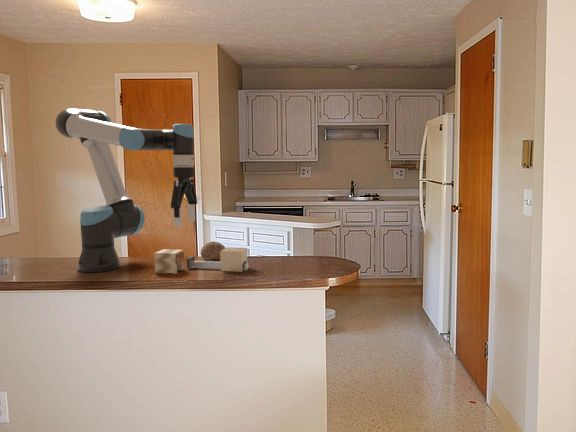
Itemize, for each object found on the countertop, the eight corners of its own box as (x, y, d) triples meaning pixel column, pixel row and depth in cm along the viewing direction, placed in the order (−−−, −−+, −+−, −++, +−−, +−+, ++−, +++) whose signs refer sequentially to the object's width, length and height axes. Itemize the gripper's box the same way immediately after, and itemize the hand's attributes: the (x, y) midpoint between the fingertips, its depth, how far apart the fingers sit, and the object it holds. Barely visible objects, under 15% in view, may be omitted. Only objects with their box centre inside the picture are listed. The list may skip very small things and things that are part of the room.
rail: (185, 269, 195) (185, 249, 194) (193, 265, 202) (192, 246, 201) (244, 271, 190) (244, 251, 189) (250, 267, 197) (249, 248, 196)
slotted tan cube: (155, 273, 190) (154, 252, 189) (164, 268, 197) (163, 249, 196) (177, 273, 188) (176, 253, 187) (185, 269, 195) (184, 249, 194)
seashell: (216, 261, 205) (206, 239, 207) (203, 270, 210) (193, 248, 212) (234, 256, 214) (224, 235, 216) (221, 265, 219) (211, 244, 221)
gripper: (180, 167, 178) (181, 229, 181) (204, 165, 202) (205, 219, 205) (160, 167, 179) (161, 228, 182) (186, 165, 204) (187, 218, 206)
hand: (184, 223), depth 193 cm, fingers open, 13 cm apart
